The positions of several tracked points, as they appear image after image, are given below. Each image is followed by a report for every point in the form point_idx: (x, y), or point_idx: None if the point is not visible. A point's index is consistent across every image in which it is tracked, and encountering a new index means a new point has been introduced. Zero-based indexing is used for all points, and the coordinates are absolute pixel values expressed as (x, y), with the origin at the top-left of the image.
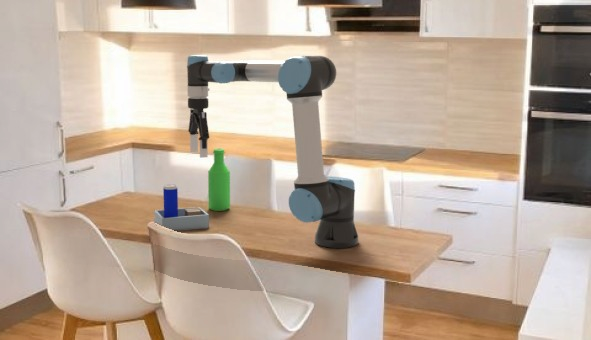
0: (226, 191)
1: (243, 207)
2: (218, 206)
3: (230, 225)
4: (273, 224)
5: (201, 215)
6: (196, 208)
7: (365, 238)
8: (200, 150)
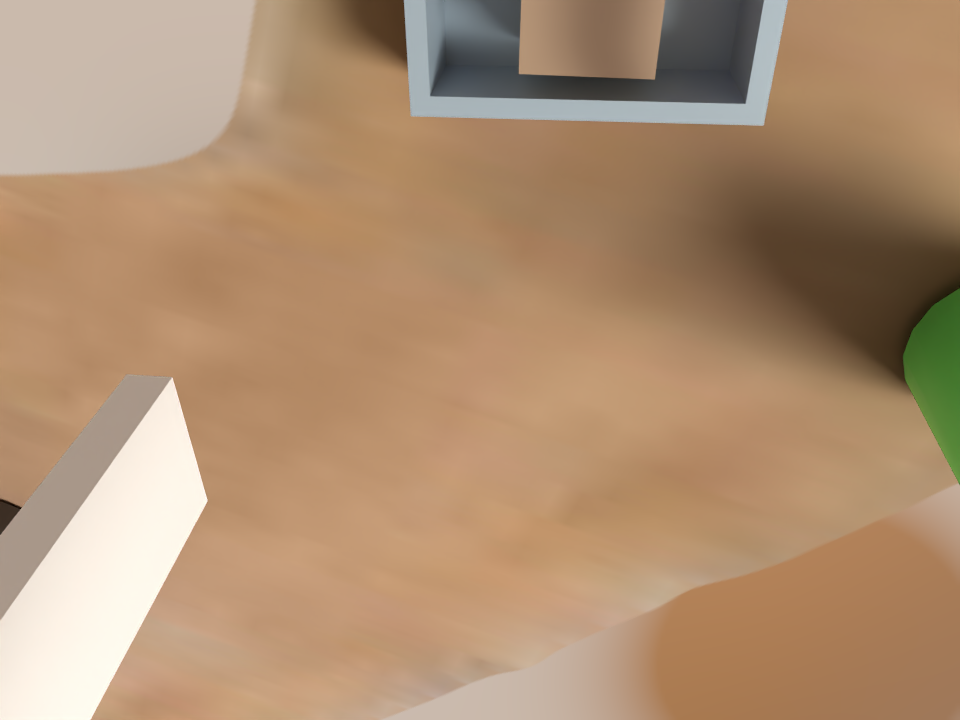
0: (954, 472)
1: (916, 486)
2: (930, 331)
3: (454, 250)
4: (395, 474)
5: (406, 39)
6: (646, 62)
7: None
8: (37, 496)
